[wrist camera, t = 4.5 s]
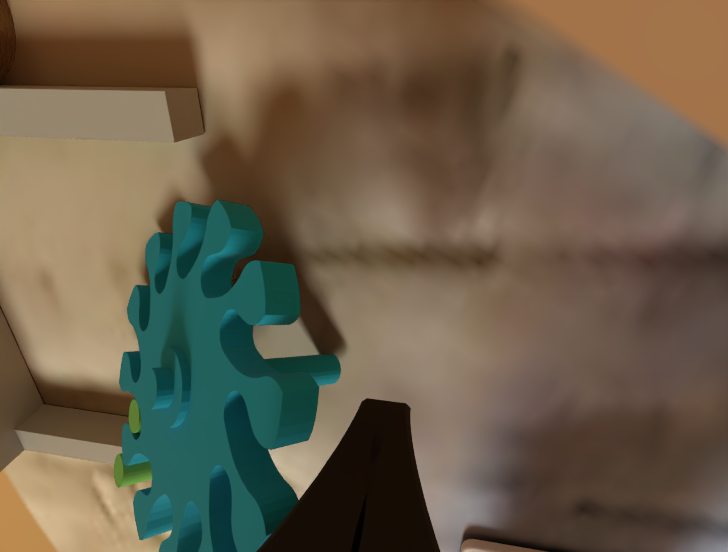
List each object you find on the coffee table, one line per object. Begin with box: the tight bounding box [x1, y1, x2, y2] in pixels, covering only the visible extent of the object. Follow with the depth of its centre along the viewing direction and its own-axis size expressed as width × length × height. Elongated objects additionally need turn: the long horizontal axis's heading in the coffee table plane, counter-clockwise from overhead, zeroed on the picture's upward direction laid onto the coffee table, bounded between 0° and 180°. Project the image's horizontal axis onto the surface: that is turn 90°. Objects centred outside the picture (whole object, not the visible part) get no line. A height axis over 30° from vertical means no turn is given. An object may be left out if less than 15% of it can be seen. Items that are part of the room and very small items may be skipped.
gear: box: [114, 199, 341, 552], centre depth 13 cm, size 11×6×10 cm
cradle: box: [0, 85, 204, 472], centre depth 14 cm, size 14×12×4 cm
